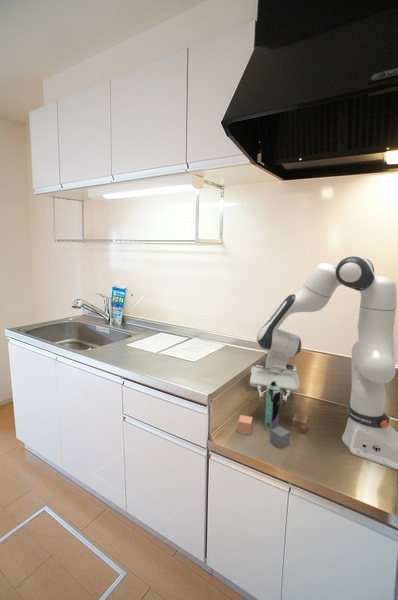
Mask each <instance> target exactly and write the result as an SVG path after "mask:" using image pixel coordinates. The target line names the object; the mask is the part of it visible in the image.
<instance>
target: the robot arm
mask: <svg viewBox="0 0 398 600" xmlns="http://www.w3.org/2000/svg"><path fill="white" fill-rule="evenodd" d="M374 268H375V267H374V265H373V263H372V262H371V260H370V259H368V258H366V257H364V256H360V255H351V256H348V257H345V258H343V259H341V261H340V262H339V263H337V265H334V264H331V263H325V262H322V263H319V264H318V265H317V266H315V268H314V269H313V271H311V273H310V274H309V276H308V277H307V279H306V281H305V282H304V284H303V285H302V287H301V288H300V289H299V290H298V291H297V292H295V293H293V294H289V295H288V296H286V298H285V299H284V300H283V301H282V302H281V304H280V305H279V306H278V308H277V309H275V311H274V313H273V314H272V315H271V317H270V318H269V319H268V320H267V322H266V323H265V324H264V325H263V326H261V328H260V329H259V331H258V333H257V335H256V341H257V343H258V345H259V347H260V348H261V349H264V350H266V353H267V356H266V359H265V366H264V365H258V364H256V365H253V366H251V369H250V379H249V384H250V386H251V387H255V388H256V387H257V390H258V391H257V392H258V393H259V396H258V397H259V398H262V399H263V398H264V392H262V391H261V390H262V388H263V389H267V386H268V385H270V384H271V383H272V381H276V384H277V385H278V386H279V387H280V391H283V392H286V394H285V395H283V396H282V401H283V402H286V403H287V399H288V397H289V396H290V394H291V393H296V394H297V393H299V391H300V377H299V375H298V368H297V367H296V366H295V365H293V364H290V363H288V362H287V359H290V358H293V357H294V356H297V355H299V353H300V352H301V349H302V340H301V338H300V336H299V335H297V334H294V333H291V332H290V331H285V330H283V329H280V326H282V324H283V323H284V321H285V320H286V319H287V317H289V316H290V315H292V314H297V313H314V312H319V311H321V310H322V309H324V308H325V307H326V306H327V304H328V303H329V301H330V299H331V298H332V296H333V294H334V292H335V291H336V289H337V288H338V287H339V286H341V285H343V286H345V287H347V288H349V289H353V290H356V291H357V292H359V293H360V303H359V304H360V305H359V313H358V320H357V322H358V323H357V332H358V333H357V334H358V341H356V342H354V344H353V345H352V348H351V369H350V370H351V371H350V372H351V391H350V401H349V404H348V407H347V412H346V413H347V417H346V418H347V422H346V426H345V428H344V429H345V430H344V432H343V434H342V436H341V440H342V442H343V443H344V445H345V446H346V447H348V450H349V451H350V453H351V454H352V455H353V456H354V455H355V456H357V457H360V458H363V459H364V460H368V461H371V462H374V463H377V464H380V465H383V466H385V467H388V468H391V469H394V470H396V471H398V431H397V430H395V428H393V426H391V424H390V418H391V414H389V415H387V414H386V413H385V402H386V396H387V395H386V394H387V393H386V392H387V391H386V387H385V386H386V385H385V384H387V383H388V382H390V381H392V380H393V379H394V377H395V375H396V371H397V370H396V364H395V339H394V329H395V321H396V320H395V319H396V312H397V306H398V305H397V304H398V303H397V300H398V297H397V295H398V293H397V284H396V282H395V280H393V279H392V278H390V277H387V276H384V275H378V274H377V273H375V269H374Z"/></svg>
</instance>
